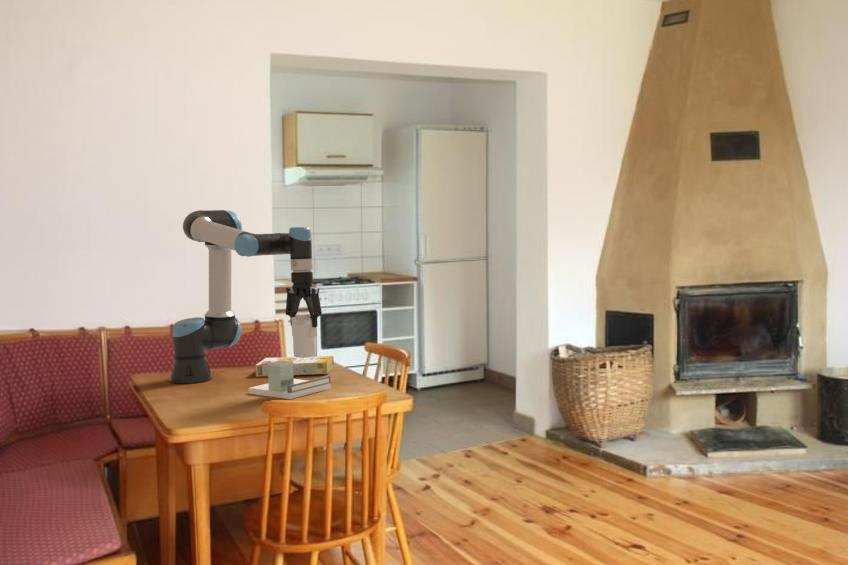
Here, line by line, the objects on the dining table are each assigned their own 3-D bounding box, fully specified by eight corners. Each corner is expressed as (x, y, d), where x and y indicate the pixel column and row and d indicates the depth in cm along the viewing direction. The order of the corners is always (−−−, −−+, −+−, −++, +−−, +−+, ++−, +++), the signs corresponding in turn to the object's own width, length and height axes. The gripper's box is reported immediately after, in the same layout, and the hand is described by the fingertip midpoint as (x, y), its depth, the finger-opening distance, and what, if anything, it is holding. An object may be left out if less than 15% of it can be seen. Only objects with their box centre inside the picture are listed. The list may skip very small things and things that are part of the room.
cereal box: (327, 361, 318) (254, 363, 318) (327, 375, 318) (254, 377, 318) (333, 354, 338) (265, 356, 338) (334, 367, 338) (265, 369, 339)
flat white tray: (248, 393, 286) (248, 380, 286) (290, 383, 302) (289, 371, 302) (290, 399, 274) (289, 386, 274) (331, 388, 291) (330, 376, 290)
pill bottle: (290, 358, 287) (288, 315, 286) (298, 354, 295) (296, 312, 294) (312, 358, 285) (310, 315, 284) (319, 354, 293) (317, 312, 292)
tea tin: (268, 389, 282) (267, 363, 281) (281, 386, 287) (280, 360, 286) (281, 391, 278) (280, 364, 277) (294, 388, 283) (293, 361, 282)
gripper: (273, 271, 291) (275, 335, 293) (316, 272, 279) (318, 338, 280) (288, 270, 297) (291, 333, 299) (331, 270, 285) (333, 336, 286)
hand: (304, 335), depth 289 cm, fingers closed on pill bottle, 8 cm apart
